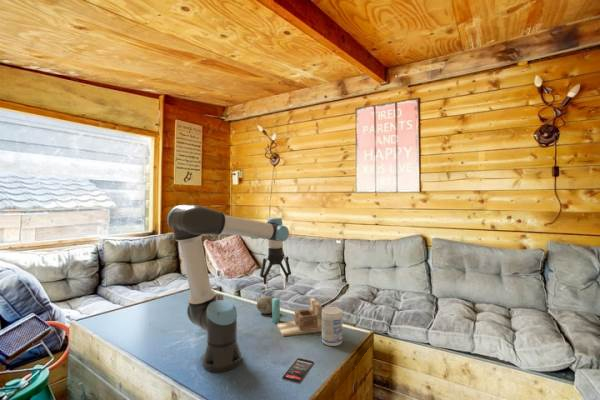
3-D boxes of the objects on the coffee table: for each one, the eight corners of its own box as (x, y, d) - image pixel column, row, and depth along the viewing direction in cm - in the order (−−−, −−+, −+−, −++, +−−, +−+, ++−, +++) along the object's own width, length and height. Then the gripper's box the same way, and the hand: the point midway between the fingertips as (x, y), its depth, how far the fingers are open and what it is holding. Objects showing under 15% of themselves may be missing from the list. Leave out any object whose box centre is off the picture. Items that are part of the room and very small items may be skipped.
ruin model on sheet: (204, 306, 185) (204, 290, 185) (208, 304, 188) (208, 289, 188) (220, 309, 181) (220, 293, 180) (223, 307, 184) (223, 291, 183)
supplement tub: (337, 349, 133) (337, 315, 133) (318, 343, 138) (317, 311, 137) (345, 339, 141) (345, 308, 141) (326, 335, 146) (326, 304, 146)
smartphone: (281, 378, 112) (297, 357, 125) (281, 380, 112) (297, 359, 125) (299, 382, 109) (314, 361, 123) (299, 384, 109) (314, 363, 123)
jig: (322, 330, 150) (321, 306, 150) (282, 336, 145) (282, 311, 144) (313, 320, 163) (313, 298, 162) (277, 325, 157) (276, 302, 157)
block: (316, 327, 152) (316, 315, 151) (299, 329, 149) (299, 317, 149) (311, 320, 160) (311, 308, 160) (294, 322, 158) (294, 310, 158)
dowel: (280, 322, 160) (280, 300, 160) (273, 323, 159) (273, 301, 159) (279, 319, 164) (278, 297, 164) (271, 320, 163) (271, 298, 163)
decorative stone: (277, 312, 174) (277, 294, 174) (269, 317, 167) (269, 299, 167) (263, 309, 179) (262, 292, 179) (254, 314, 172) (254, 296, 171)
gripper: (293, 244, 167) (293, 285, 168) (253, 247, 161) (254, 288, 162) (297, 246, 160) (297, 289, 161) (255, 249, 154) (256, 293, 154)
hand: (275, 289), depth 161 cm, fingers open, 9 cm apart
